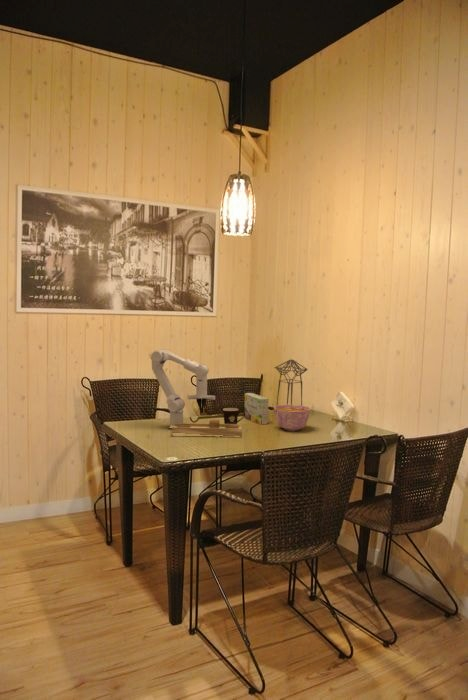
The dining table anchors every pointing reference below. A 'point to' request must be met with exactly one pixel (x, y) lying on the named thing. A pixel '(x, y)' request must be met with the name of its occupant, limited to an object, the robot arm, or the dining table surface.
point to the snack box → (256, 408)
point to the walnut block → (214, 424)
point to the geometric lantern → (289, 377)
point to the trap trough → (207, 429)
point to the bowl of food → (292, 416)
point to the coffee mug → (231, 415)
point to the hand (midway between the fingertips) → (201, 412)
